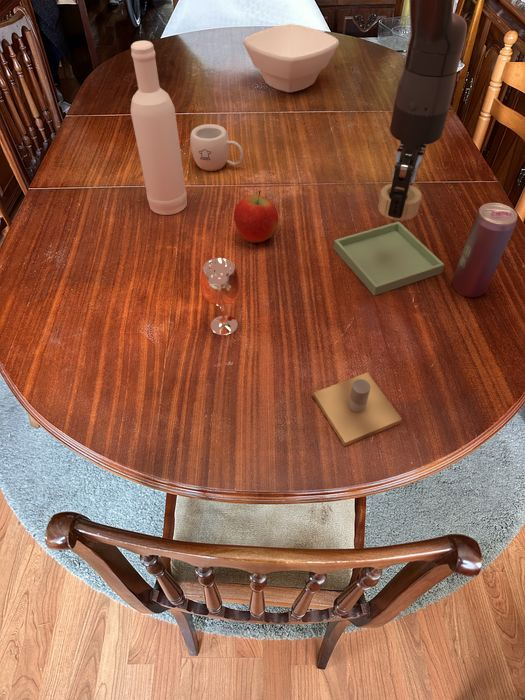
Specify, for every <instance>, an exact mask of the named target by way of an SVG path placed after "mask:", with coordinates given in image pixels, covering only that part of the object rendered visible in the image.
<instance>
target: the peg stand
mask: <svg viewBox="0 0 525 700" xmlns="http://www.w3.org/2000/svg"><path fill="white" fill-rule="evenodd" d="M312 398H313V399H314V400H315V402H316V404H317V405H318V407H319V408H320V410H321V412H322V413H323V415H324V416H325V418H326V420H327V421H328V423H329V424H330V426H331V428H332V429H333V431H334V433H335V434H336V436H337V437H338V439H339V440H340V442H341V444H342V445H343V447H347V446H349V445H352V444H354V443H357V442H359V441H361V440H364V439H367V438H368V437H371V436H373V435H376V434H378V433H380V432H383V431H385V430H388V429H391V428H392V427H395V426H397V425H400V424H401V423H402V421H403V418H402V417H401V416H400V414H399V413H398V411H397V410H396V408H394V407H395V406H393V404H392V403H391V402H390V401H389V399H388V398H387V396H386V395H385V394H384V393H383V391H382V390H381V388H380V387H379V385H378V384H377V383H376V382H375V380H374V379H373V378H372V376H371V375H370V374H369V372H364V373H361V374H359V375H356V376H354V377H351V378H349V379H346V380H343V381H341V382H338V383H336V384H332V385H330V386H327V387H324V388H322V389H319V390H316V391H313V392H312Z"/></svg>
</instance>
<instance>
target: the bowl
mask: <svg viewBox="0 0 525 700" xmlns="http://www.w3.org/2000/svg"><path fill="white" fill-rule="evenodd" d="M242 42H243V46H244V48H245V50H246V53H247V55H248V56H249V58H250V60H251V62H252V65H253V66H254V67H255V68H256V69H258V70H259V72H260V74H261V76H262V78H263V81H264V82H265V84H267V85H268V86H270V87H271V88H273V89H275V90H279V91H282V92H285V93H295V92H298V91H301V90H305V89H308V87H310V86H312V85H313V84H314V83H315V82H316V80H317V78H318V77H319V74H320V72H321V71H322V70H324V69H325V68H326V67H327V66H329V63H330V61H331V60H332V58H333V56H334V54H335V52H336V51H337V49H338V47H339V45H340V42H339V39H338V38H337V37H335V36H334V35H331V34H330V33H327V32H324V31H322V30H320V29H316V28H312V27H308V26H304V25H301V24H294V23H289V24H288V23H287V24H281V25H277V26H273V27H269V28H265V29H262V30H259V31H257V32H254V33H253V34H250V35H248V36H247V37H245V38H244V39H243V41H242Z"/></svg>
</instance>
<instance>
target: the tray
mask: <svg viewBox="0 0 525 700" xmlns="http://www.w3.org/2000/svg"><path fill="white" fill-rule="evenodd" d="M333 250H334V251H335V253H336V254H337V255H338V256H339V257H340V258H341V259H342V261H343V262H344V263H345V264H346V265H347V266H348V268H349V269H350V270H351V271H352V272H353V273H354V275H355V276H356V277H357V279H359V281H361V283H362V284H363V285H364V286H365V287H366V288H367V289H368V291H369V292H370V293H371V294H372V296H377V295H381V294H384V293H387V292H389V291H393V290H396V289H399V288H401V287H404V286H405V287H406V286H408V285H411V284H413V283H416V282H420V281H423V280H426V279H428V278H431V277H434V276H438V275H441V274H443V271H444V268H445V262H442V260H440V258H438V257H437V256H436V255H435V254H434V253H433V252H432V251H431V250H430V249H429V247H426V245H425V244H424V243H422V241H420V240H419V238H417V236H415V234H413V233H412V232H411V231H410V230H409V229H408V228H407V227H405V225H403V223H401V222H400V220H397V221H396V222H392V223H389V224H385V225H382V226H377V227H374V228H371V229H367V230H364V231H360V232H358V233H353V234H350V235H347V236H343V237H340V238H337V239H334V241H333Z"/></svg>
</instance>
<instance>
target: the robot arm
mask: <svg viewBox="0 0 525 700" xmlns="http://www.w3.org/2000/svg"><path fill="white" fill-rule="evenodd" d="M453 5H454V0H408V7H409V8H408V11H409V12H408V13H409V30H410V33H409V37H408V41H407V46H406V52H405V57H404V61H403V62H404V63H403V65H402V66H403V67H402V69H401V74H400V76H399V80H398V84H397V89H396V95H395V99H394V104H393V111H392V116H391V121H390V127H389V131H390V134H391V135H392V137H394V138H395V139H396V141H397V140H398V141H400V142H399V145H398V147H397V149H396V152H395V158H394V159H395V163H394V168H393V171H392V176H391V179H392V182H391V183H392V186H391V191H390V193H389V198H390V199H391V202H390V207H389V211H388V215H389V216H390V217H395V218H401V217H402V214H403V210H404V206H405V201H406V199H407V197H408V195H409V193H408V192H409V188H410V185H412V186H413V184H414V183H415V181H416V178H417V175H418V171H419V167H420V166H421V164H422V162H423V159H424V157H425V154H426V150H427V146H428V145H430V144H433V143H436V142H437V141H439V140H440V139H441V137H442V135H443V133H444V129H445V125H446V121H447V117H448V113H449V110H450V107H451V103H452V99H453V95H454V91H455V86H456V81H457V80H456V79H457V73H458V68H459V66H460V63H461V62H460V61H461V57H462V55H463V50H464V46H465V42H466V38H467V32H468V23H467V21H466V20H465V19H464V17H463V16H461V15H460V14H457V13H456V12H454V11H453V9H454V8H453ZM396 187H400V188H404V190H401V189H396Z"/></svg>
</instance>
